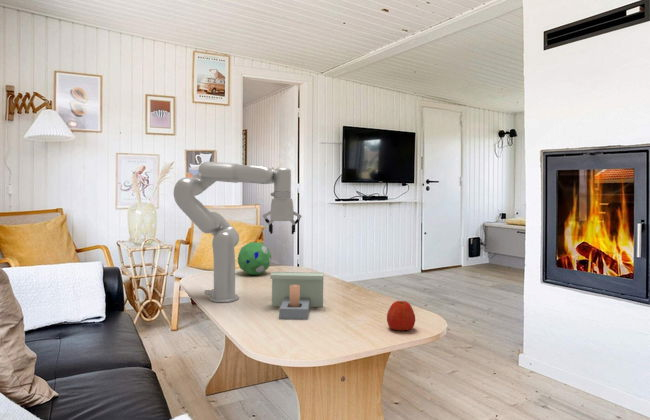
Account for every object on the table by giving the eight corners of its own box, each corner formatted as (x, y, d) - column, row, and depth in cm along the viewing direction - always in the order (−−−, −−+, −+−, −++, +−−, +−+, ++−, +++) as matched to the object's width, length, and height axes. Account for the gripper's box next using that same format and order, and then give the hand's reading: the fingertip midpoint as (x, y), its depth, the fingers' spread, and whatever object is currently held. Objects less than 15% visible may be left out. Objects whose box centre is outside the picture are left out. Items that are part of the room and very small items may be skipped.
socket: (279, 318, 170) (279, 308, 170) (284, 306, 187) (284, 297, 187) (307, 319, 170) (307, 309, 169) (310, 307, 187) (310, 297, 187)
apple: (396, 335, 153) (396, 305, 152) (381, 326, 162) (381, 298, 162) (420, 331, 157) (421, 302, 156) (404, 323, 166) (404, 296, 166)
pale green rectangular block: (270, 309, 183) (270, 275, 182) (272, 305, 190) (272, 271, 189) (322, 310, 182) (323, 275, 182) (323, 305, 189) (323, 272, 188)
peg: (288, 316, 173) (289, 286, 172) (289, 313, 177) (290, 284, 176) (299, 316, 173) (299, 286, 172) (299, 313, 177) (300, 284, 176)
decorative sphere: (266, 285, 254) (250, 270, 239) (241, 274, 264) (224, 259, 249) (282, 257, 261) (268, 241, 246) (258, 248, 271) (242, 232, 256)
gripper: (261, 195, 192) (261, 234, 193) (301, 196, 191) (300, 234, 192) (264, 195, 199) (264, 232, 200) (302, 195, 199) (301, 233, 200)
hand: (282, 233), depth 196 cm, fingers open, 9 cm apart
